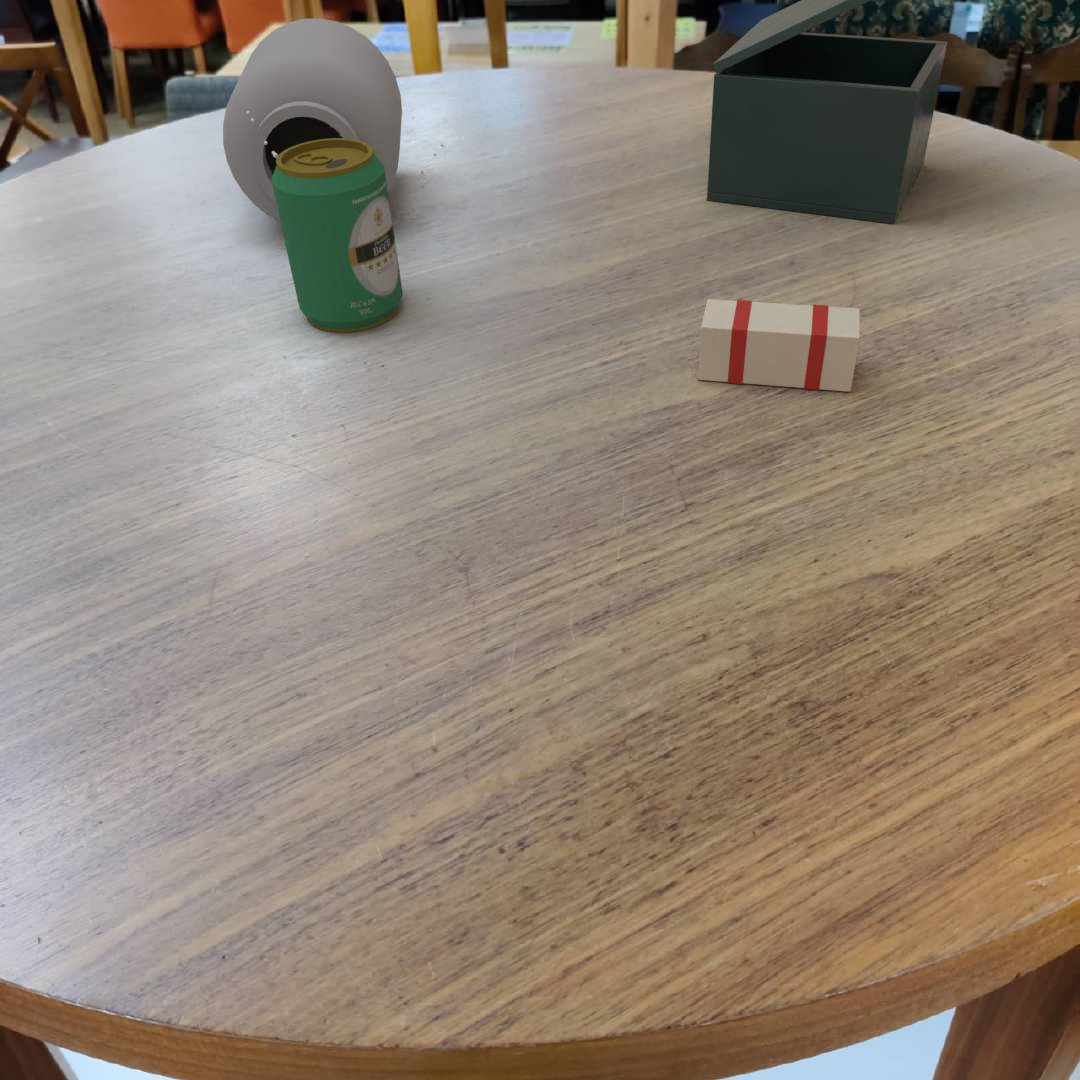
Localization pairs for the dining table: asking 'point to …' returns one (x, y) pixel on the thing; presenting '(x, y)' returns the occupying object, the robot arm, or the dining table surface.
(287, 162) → the beverage can
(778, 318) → the red striped parcel
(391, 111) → the jar
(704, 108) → the dining table surface
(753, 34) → the bin lid
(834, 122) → the bin
